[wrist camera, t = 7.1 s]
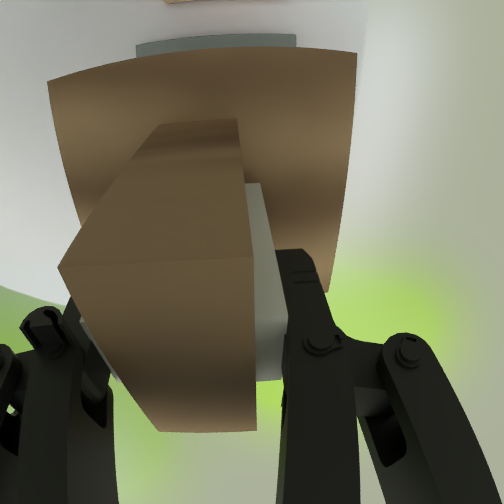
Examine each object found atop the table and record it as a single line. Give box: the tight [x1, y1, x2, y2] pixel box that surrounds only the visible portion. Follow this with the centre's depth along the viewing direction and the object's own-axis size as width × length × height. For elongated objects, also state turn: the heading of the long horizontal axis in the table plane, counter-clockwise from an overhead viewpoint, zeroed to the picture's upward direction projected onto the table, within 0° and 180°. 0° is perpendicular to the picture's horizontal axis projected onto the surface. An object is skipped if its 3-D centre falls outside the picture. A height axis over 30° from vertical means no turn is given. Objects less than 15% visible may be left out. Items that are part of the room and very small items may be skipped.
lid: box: [47, 46, 357, 433], centre depth 11 cm, size 13×13×10 cm
